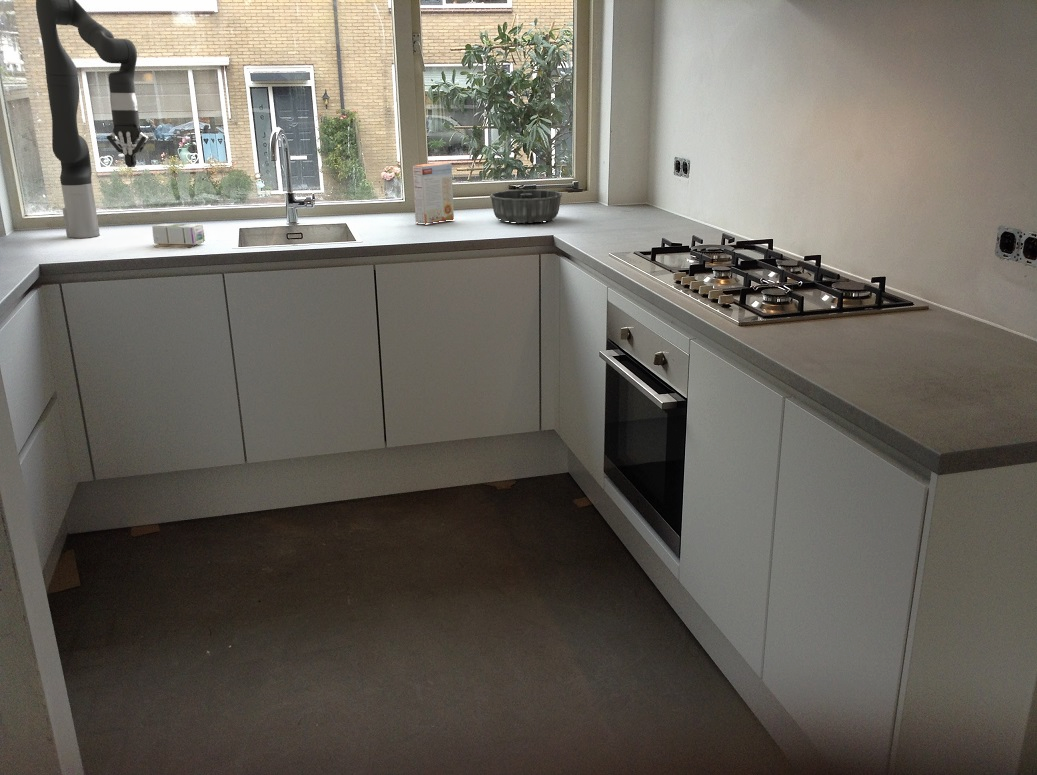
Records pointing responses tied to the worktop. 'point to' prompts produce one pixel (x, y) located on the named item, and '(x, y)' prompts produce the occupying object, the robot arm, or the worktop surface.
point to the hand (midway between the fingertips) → (131, 166)
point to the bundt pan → (526, 205)
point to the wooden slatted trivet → (173, 245)
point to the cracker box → (433, 192)
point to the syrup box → (178, 234)
